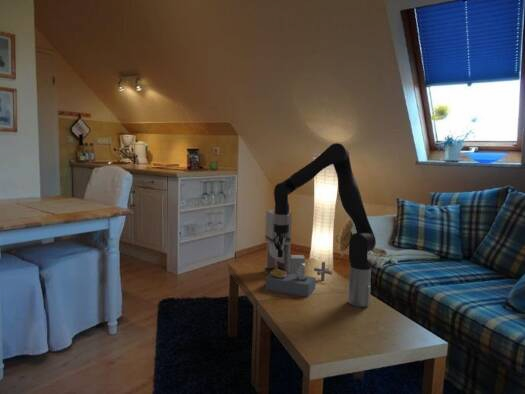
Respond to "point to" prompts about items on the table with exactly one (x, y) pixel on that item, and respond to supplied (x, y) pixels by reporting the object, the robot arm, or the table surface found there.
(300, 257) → the supplement box
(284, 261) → the display case
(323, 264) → the pipe connector
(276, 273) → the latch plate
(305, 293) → the pin block
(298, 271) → the steel pin
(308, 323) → the table surface
